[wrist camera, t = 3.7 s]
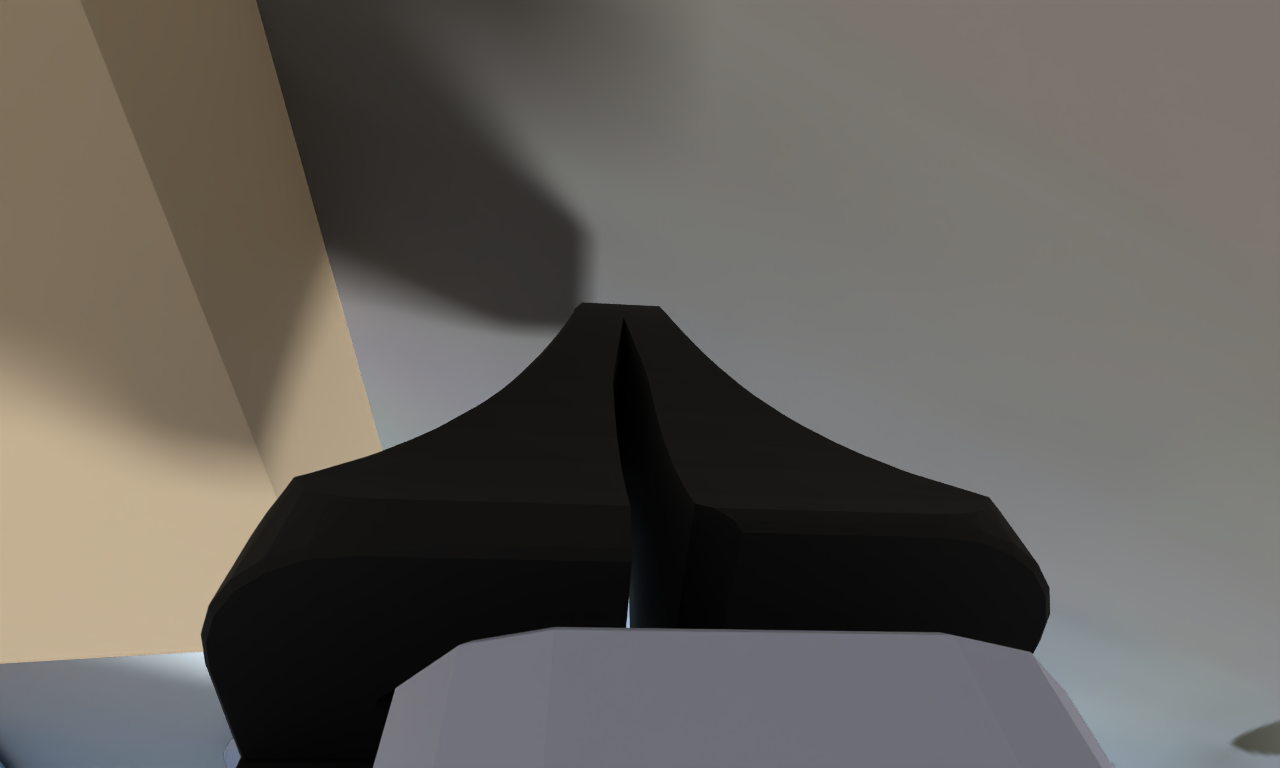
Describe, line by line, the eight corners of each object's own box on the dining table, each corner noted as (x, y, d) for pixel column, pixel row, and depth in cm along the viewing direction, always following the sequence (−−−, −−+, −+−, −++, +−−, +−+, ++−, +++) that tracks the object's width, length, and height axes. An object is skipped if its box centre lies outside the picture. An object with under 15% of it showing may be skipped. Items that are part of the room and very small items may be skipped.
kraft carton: (397, 482, 15) (334, 643, 11) (54, 501, 14) (-116, 670, 11) (260, -17, 10) (79, -3, 6) (-250, 4, 10) (-712, 30, 6)
